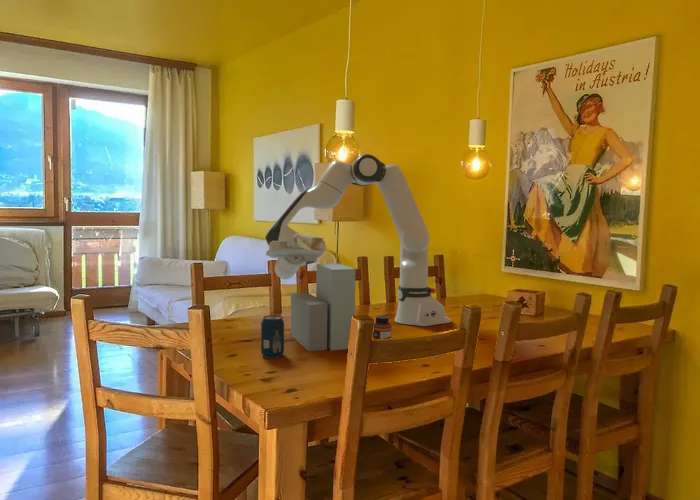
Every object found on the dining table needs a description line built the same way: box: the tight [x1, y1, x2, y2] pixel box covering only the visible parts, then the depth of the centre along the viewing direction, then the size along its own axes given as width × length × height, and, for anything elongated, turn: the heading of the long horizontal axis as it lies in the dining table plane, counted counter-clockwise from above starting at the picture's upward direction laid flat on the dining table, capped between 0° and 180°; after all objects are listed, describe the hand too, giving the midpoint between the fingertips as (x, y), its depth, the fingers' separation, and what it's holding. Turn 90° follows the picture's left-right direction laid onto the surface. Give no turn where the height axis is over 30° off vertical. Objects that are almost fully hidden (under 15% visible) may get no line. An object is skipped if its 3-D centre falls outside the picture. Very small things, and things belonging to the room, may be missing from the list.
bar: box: [294, 233, 324, 251], centre depth 185 cm, size 4×20×4 cm, turn 21°
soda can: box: [260, 314, 285, 359], centre depth 170 cm, size 7×7×12 cm
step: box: [290, 292, 328, 352], centre depth 187 cm, size 6×22×15 cm, turn 21°
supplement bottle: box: [372, 315, 392, 339], centre depth 177 cm, size 6×6×11 cm
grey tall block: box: [315, 262, 357, 351], centre depth 185 cm, size 8×16×26 cm, turn 21°
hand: (302, 238), depth 191 cm, fingers closed on bar, 4 cm apart
